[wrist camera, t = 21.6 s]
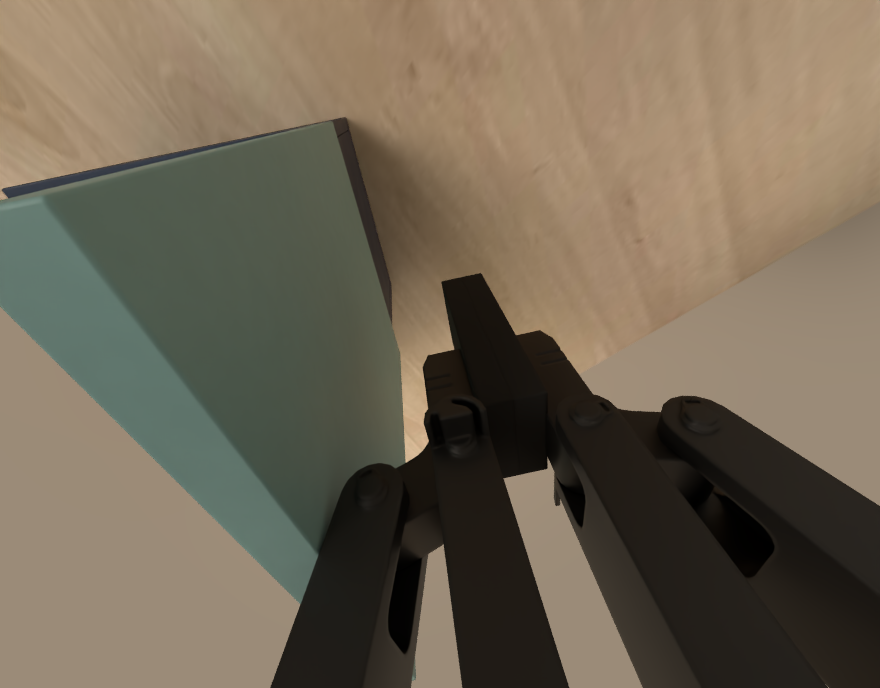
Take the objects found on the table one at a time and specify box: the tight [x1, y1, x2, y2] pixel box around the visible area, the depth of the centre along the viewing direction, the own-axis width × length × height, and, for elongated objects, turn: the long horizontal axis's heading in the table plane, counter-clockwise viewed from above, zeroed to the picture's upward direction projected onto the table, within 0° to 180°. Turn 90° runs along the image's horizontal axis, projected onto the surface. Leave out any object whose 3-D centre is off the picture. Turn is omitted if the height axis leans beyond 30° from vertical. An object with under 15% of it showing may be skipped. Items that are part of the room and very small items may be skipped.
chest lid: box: [0, 121, 416, 681], centre depth 13 cm, size 17×14×1 cm
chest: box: [2, 117, 392, 324], centre depth 25 cm, size 16×14×11 cm
